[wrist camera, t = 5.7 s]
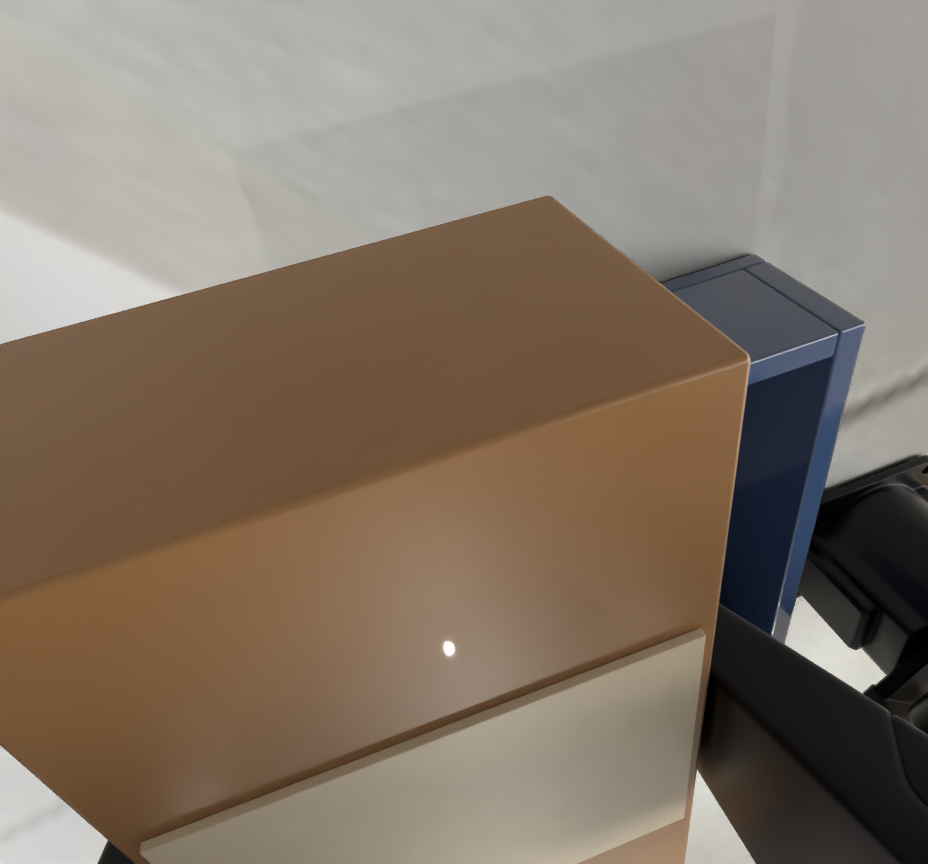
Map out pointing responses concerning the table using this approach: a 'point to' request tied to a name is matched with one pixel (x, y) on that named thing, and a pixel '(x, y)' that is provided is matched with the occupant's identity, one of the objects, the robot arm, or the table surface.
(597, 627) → the packet
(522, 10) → the table surface
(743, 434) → the open box
